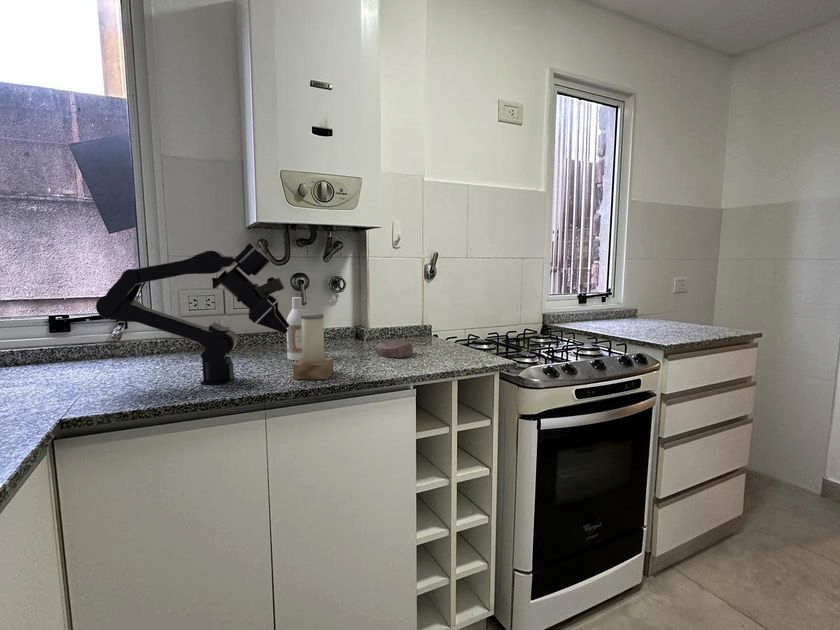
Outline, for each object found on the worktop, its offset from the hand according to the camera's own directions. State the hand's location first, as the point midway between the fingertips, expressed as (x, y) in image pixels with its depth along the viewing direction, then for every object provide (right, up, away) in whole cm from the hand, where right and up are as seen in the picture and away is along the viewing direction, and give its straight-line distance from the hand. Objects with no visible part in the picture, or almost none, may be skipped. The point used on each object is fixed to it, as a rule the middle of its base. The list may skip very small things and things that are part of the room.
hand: (287, 329), depth 118 cm
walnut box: (+6, -13, +3) cm, 15 cm away
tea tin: (+6, -9, +3) cm, 11 cm away
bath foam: (-4, -11, +24) cm, 27 cm away
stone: (+27, -10, +30) cm, 41 cm away
